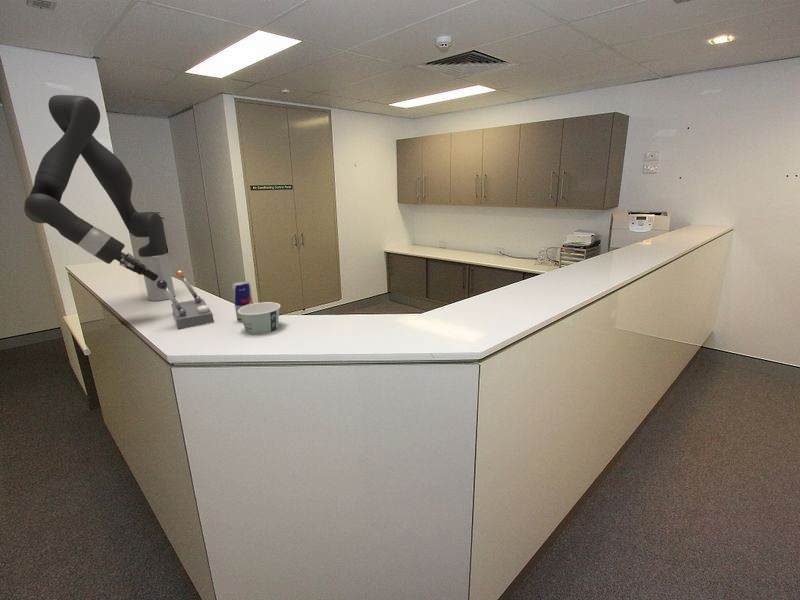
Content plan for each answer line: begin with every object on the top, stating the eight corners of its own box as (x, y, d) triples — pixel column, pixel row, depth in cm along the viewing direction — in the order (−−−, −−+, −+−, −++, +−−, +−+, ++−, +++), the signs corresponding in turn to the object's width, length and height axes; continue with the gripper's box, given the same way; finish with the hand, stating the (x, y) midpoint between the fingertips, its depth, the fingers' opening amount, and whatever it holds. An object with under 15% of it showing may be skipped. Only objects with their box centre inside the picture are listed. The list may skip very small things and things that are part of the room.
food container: (232, 332, 120) (228, 310, 118) (264, 320, 129) (261, 300, 128) (259, 338, 113) (256, 316, 112) (291, 325, 123) (289, 304, 121)
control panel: (172, 312, 142) (171, 303, 141) (204, 306, 147) (202, 298, 146) (178, 329, 124) (176, 319, 123) (213, 322, 129) (212, 313, 128)
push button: (197, 311, 130) (196, 306, 130) (208, 309, 132) (207, 304, 132) (198, 313, 128) (197, 308, 127) (209, 311, 129) (209, 306, 129)
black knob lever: (179, 315, 128) (154, 282, 122) (187, 311, 129) (163, 277, 123) (180, 318, 125) (154, 283, 120) (188, 313, 126) (163, 278, 121)
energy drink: (249, 322, 127) (243, 285, 124) (233, 322, 128) (227, 285, 125) (258, 317, 132) (253, 281, 129) (243, 316, 133) (237, 281, 130)
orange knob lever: (195, 302, 142) (173, 272, 136) (202, 298, 143) (181, 267, 137) (196, 304, 140) (173, 273, 134) (203, 300, 141) (182, 269, 135)
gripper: (108, 237, 119) (165, 272, 128) (111, 233, 129) (163, 266, 139) (91, 257, 117) (149, 291, 127) (95, 252, 128) (148, 284, 138)
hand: (156, 278), depth 133 cm, fingers closed
